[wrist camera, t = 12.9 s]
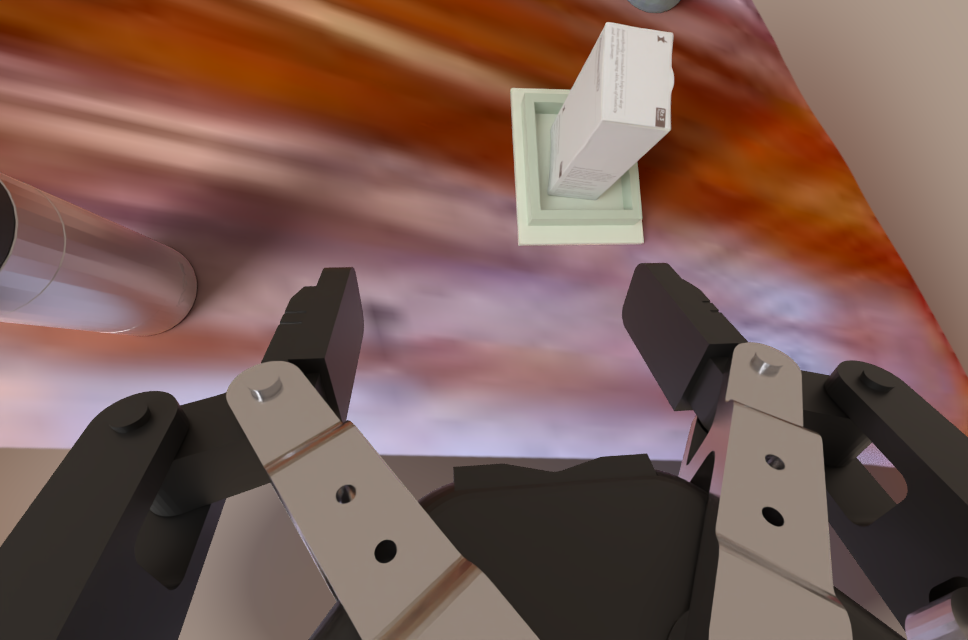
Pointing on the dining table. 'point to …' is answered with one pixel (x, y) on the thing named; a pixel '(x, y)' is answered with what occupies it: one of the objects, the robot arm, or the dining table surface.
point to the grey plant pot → (654, 5)
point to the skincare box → (612, 111)
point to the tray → (555, 215)
